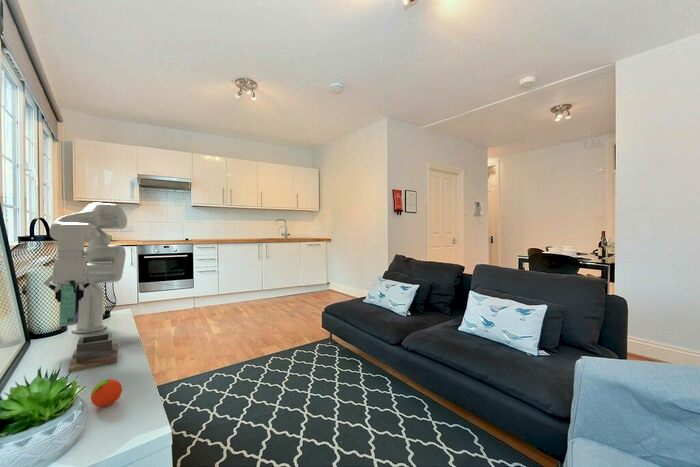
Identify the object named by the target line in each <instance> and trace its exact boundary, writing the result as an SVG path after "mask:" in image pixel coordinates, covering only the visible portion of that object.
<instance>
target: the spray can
mask: <svg viewBox="0 0 700 467" xmlns="http://www.w3.org/2000/svg"><path fill="white" fill-rule="evenodd" d="M74 281H75V280H74ZM74 281H73V280H68V281H64V283H63V284H61V287H60V302H59V326H60V327H70V326H75V325H76V324H77V323H78V316H79V300H78V298H79V285H78V283H76V282H74Z"/></svg>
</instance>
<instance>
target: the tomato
mask: <svg viewBox="0 0 700 467" xmlns="http://www.w3.org/2000/svg"><path fill="white" fill-rule="evenodd" d="M122 392H123V387H122V384H121V382H119V381H118V380H117V379H114V378H113V379H112V378H109V379H105V380H101V381H100V382H99V383H97V384H96V385H95V386H94V387H93V388H92V391H91V393H90V401H91V403H92V404H93V405H94V406H96V407H99V408H106V407H109V406H112V405H114V404H115V403H116V402H117V401H118V400H119V399H120V397H121V395H122Z"/></svg>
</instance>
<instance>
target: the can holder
mask: <svg viewBox="0 0 700 467" xmlns="http://www.w3.org/2000/svg"><path fill="white" fill-rule="evenodd" d="M117 350H118V342H115V343H113V332H107V333H100V334H92V335H86V336H85V335H84V336H79V338H78V341H77V343H76V348H75V349H74V350H73V351H74V352H73V354H72V358H71V360H70V363H69V366H68V368H67V369H68V371H67V372H68V373H71V372H70V371H72V372H77V371H82V370H87V369H93V368H98V367H99V368H100V367H103V366H109V365H115V364H117V358H118V355H117V354H118V351H117Z"/></svg>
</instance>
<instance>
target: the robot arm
mask: <svg viewBox="0 0 700 467" xmlns="http://www.w3.org/2000/svg"><path fill="white" fill-rule="evenodd" d="M127 224H128V217H127V215H126V213H125V211H124V210H123V208H122V206H120V205H119V204H117V203H107V202H106V203H105V202H104V203H103V202H92V203H89V204H87V205H86V206H85V207H84V208H83V209H82V210H81V211H79V212H74V213H71V214H66V215H62V216H60V217H58V218H57V219H56V220H55V221H54V222H53V223H52V224H51V226H50V228H49V236H50V238H52V239H53V240H55V241H58V242H57V243H58V244H57V257H56V258H55V260H54V263H53V269H52V275H51V276H50V277H48V278H47V279H46V280H45V281H44V282H42V283H43V285H45V286H46V287H48V288H50V289H51V290H52V291H53V292H55V293H54V297H55V298H54V300H57V303H60V290H61V284H63V283H64V281H68V280H73V281H74V280H75V281H74V282H76V283H78V285H79V298H78V300H79V316H78V323H77V324H75V325H76V326H74V327H72V328H71V332H72V333H74V334H88V333H94V332H98V331H102V330H104V329H106V328H107V324H106V323H104V322H103V321H104V319H103V318H104V316H103V315H104V294H105V292H104V289H103V288H102V287H101V286H100V285H99V284H102V283H103V284H105V283H110V284H111V283H117V282H119V281H120V280H121V279H122V277H123V274H124V267H125V262H126V256H127V255H126V252H127V251H126V249H125V247H124V246H122V245H118V244H110V243H111V239H112V238H111V236H109V235H108V233H107V232H105V231H104V230H105V229H107V230H122V229H125V228H126V227H127ZM103 229H104V230H103ZM85 242H88V243H87V245H86V246H87V247H86V249H85ZM51 282H52V283H51Z"/></svg>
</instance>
